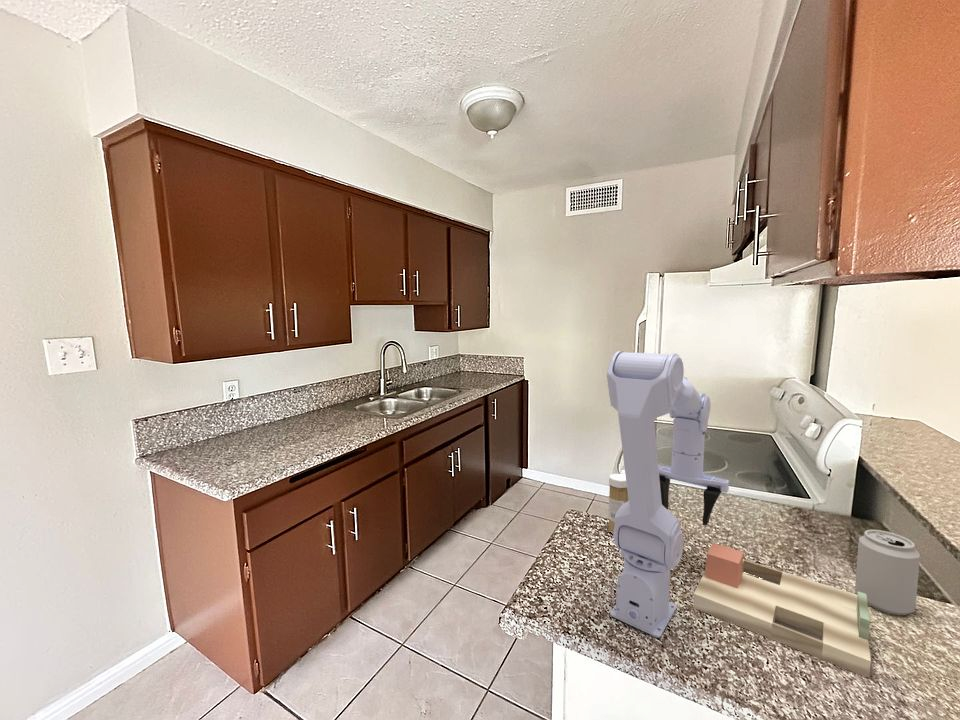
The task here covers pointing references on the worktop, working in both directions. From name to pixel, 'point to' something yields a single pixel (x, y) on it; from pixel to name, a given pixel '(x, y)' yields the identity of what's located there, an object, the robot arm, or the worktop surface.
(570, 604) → the worktop surface
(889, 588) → the can
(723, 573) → the block
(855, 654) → the board
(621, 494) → the sprinkles bottle
